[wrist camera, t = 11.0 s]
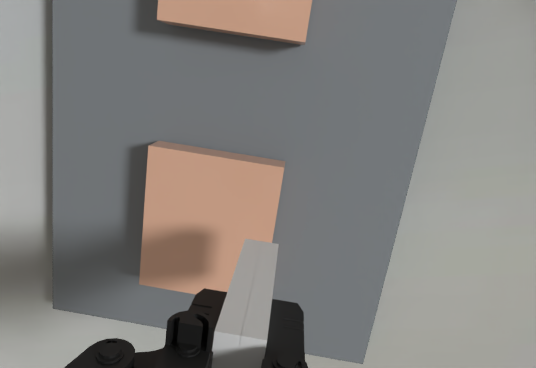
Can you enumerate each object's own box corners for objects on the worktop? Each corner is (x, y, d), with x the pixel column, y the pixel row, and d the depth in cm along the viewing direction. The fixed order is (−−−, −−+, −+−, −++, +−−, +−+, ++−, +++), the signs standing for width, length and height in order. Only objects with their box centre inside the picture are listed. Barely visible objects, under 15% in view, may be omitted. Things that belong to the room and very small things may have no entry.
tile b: (285, 160, 21) (160, 140, 22) (284, 167, 20) (148, 145, 20) (264, 288, 23) (150, 269, 24) (261, 305, 22) (139, 284, 22)
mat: (68, -267, 18) (52, -291, 17) (502, -211, 17) (516, -232, 16) (63, 298, 26) (52, 308, 25) (359, 351, 25) (362, 364, 24)
